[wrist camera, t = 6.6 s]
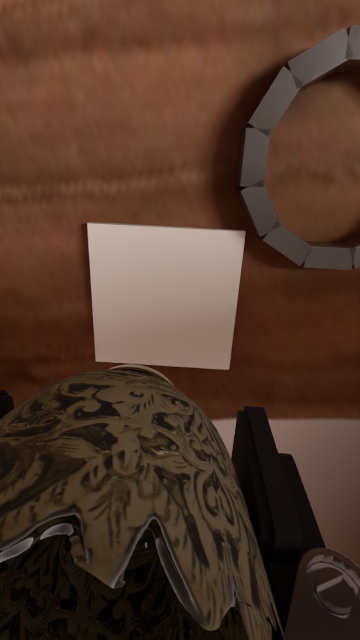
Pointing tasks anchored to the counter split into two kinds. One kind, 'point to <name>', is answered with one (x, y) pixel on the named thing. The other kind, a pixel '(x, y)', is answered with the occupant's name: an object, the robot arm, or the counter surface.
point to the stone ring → (298, 74)
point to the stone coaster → (164, 293)
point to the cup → (124, 518)
